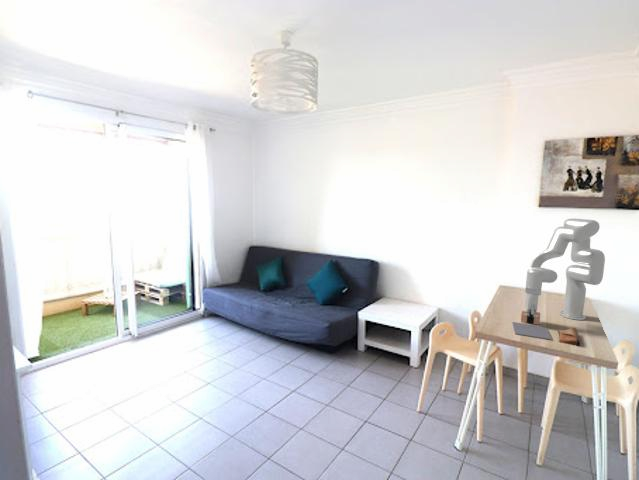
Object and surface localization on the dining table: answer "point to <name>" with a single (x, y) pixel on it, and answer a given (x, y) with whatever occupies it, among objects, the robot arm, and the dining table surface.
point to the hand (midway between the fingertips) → (529, 322)
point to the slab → (525, 314)
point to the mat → (531, 331)
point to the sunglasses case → (569, 337)
